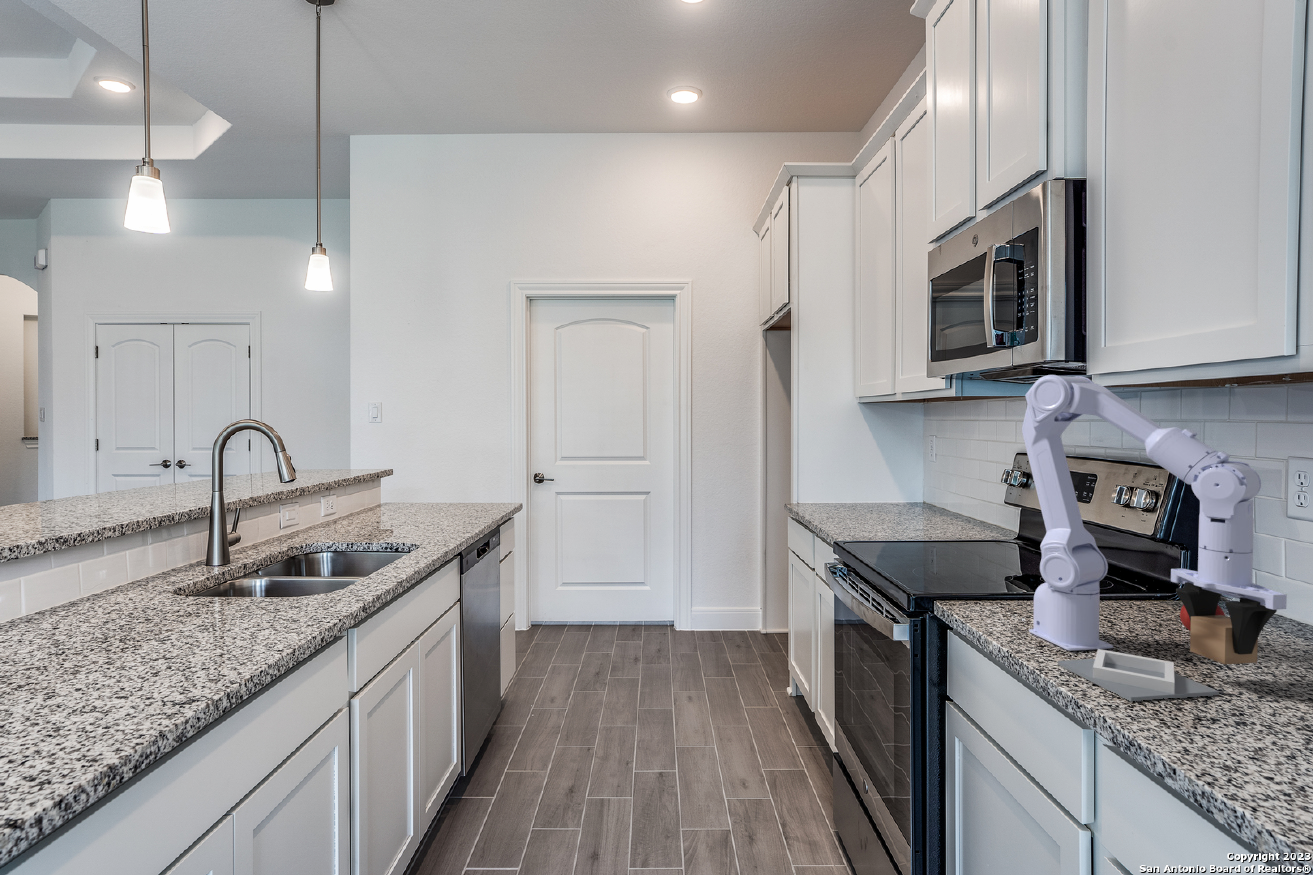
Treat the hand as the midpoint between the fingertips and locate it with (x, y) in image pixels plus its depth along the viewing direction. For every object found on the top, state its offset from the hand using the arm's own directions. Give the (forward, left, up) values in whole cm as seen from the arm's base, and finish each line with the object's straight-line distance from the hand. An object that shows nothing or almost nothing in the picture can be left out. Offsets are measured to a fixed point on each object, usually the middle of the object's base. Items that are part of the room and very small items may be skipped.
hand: (1222, 646), depth 91 cm
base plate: (-3, -11, -5) cm, 13 cm away
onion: (-16, +14, -5) cm, 22 cm away
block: (0, 0, -2) cm, 2 cm away
